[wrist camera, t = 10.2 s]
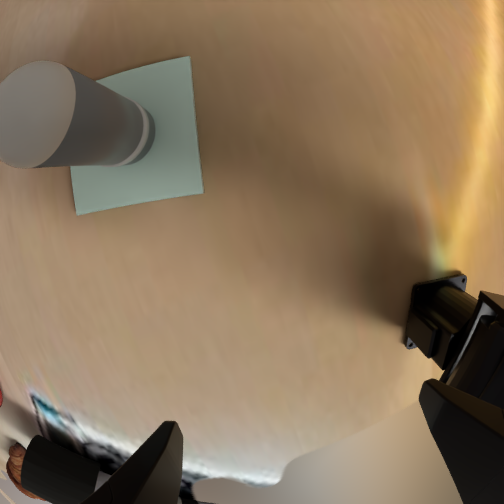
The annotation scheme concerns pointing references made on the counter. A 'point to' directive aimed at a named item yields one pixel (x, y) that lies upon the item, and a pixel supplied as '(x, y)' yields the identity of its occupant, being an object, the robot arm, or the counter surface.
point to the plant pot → (1, 398)
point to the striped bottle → (63, 474)
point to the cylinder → (68, 120)
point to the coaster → (163, 148)
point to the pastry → (17, 468)
